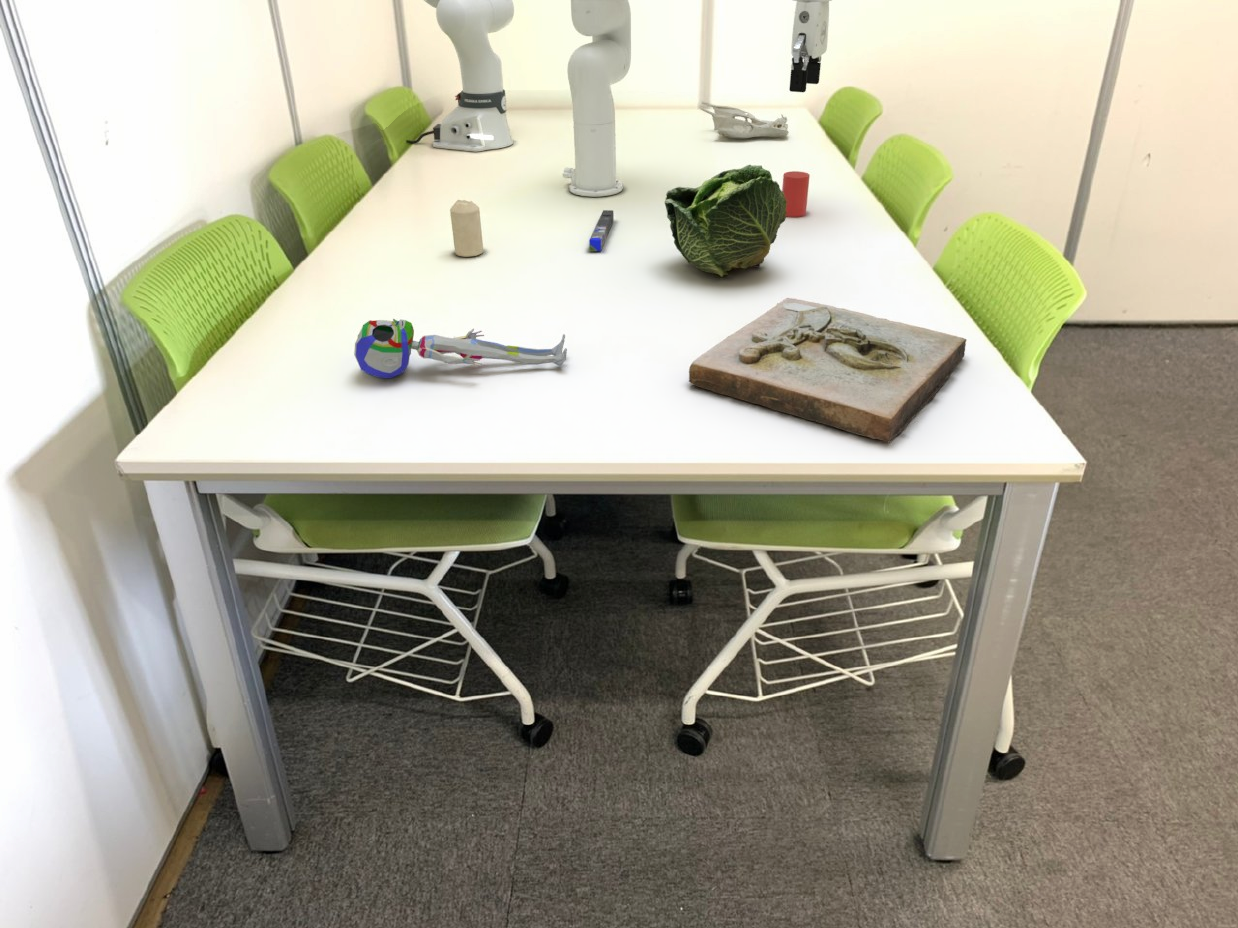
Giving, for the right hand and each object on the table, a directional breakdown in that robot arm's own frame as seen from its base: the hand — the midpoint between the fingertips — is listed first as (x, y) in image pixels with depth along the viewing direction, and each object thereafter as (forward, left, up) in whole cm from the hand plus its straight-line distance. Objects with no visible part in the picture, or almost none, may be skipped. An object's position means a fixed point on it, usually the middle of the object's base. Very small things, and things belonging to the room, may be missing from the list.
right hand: (804, 87), depth 180 cm
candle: (-46, -53, -26) cm, 75 cm away
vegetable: (+1, -38, -26) cm, 46 cm away
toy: (-15, -94, -26) cm, 99 cm away
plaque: (+32, -70, -26) cm, 81 cm away
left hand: (-94, +64, +13) cm, 114 cm away
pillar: (-29, -33, -26) cm, 50 cm away
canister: (0, 0, -26) cm, 26 cm away
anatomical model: (-39, +62, -26) cm, 77 cm away
